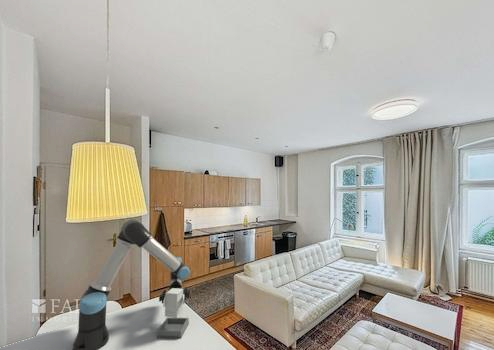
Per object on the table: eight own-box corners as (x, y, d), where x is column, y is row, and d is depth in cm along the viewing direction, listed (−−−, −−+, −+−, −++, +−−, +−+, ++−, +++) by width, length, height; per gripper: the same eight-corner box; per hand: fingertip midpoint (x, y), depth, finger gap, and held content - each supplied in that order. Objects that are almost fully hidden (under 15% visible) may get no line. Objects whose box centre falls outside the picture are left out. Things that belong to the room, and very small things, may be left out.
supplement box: (176, 318, 121) (177, 294, 122) (164, 316, 123) (164, 293, 124) (183, 311, 128) (183, 288, 129) (171, 310, 130) (171, 287, 131)
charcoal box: (157, 337, 118) (157, 330, 119) (167, 323, 131) (167, 317, 132) (180, 338, 118) (180, 331, 118) (188, 324, 131) (188, 317, 131)
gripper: (193, 290, 146) (194, 307, 125) (157, 295, 140) (152, 313, 119) (193, 278, 147) (194, 293, 125) (157, 283, 141) (152, 298, 119)
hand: (173, 303), depth 122 cm, fingers closed on supplement box, 9 cm apart
